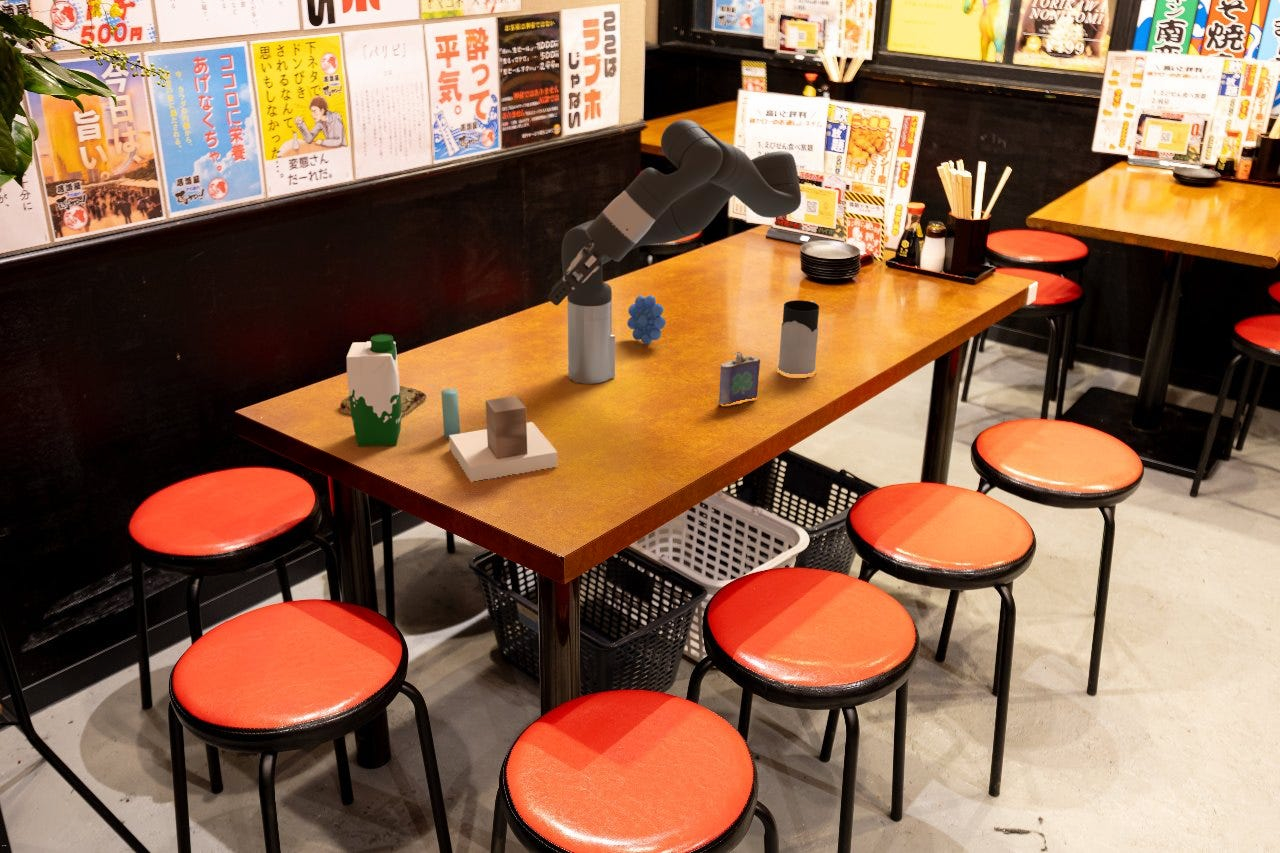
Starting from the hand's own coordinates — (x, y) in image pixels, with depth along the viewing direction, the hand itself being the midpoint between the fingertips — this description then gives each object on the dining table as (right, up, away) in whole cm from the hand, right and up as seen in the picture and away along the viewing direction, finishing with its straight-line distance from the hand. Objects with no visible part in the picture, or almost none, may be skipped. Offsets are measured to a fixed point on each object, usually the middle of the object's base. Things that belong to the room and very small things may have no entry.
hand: (553, 297), depth 185 cm
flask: (+34, -16, +44) cm, 58 cm away
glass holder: (+50, -8, +62) cm, 80 cm away
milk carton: (-35, -24, +26) cm, 49 cm away
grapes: (+16, -2, +74) cm, 76 cm away
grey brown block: (-9, -25, +15) cm, 31 cm away
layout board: (-11, -27, +19) cm, 34 cm away
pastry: (-37, -18, +40) cm, 57 cm away
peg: (-21, -23, +27) cm, 41 cm away
